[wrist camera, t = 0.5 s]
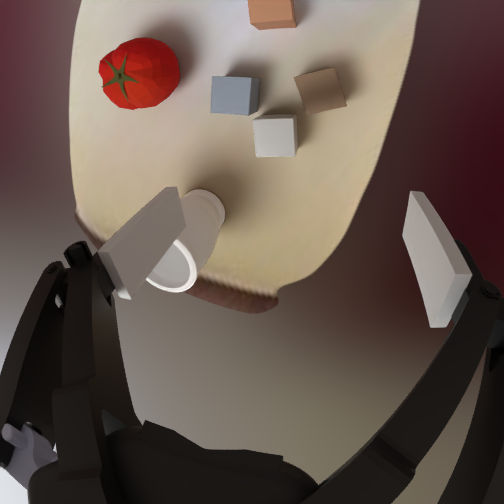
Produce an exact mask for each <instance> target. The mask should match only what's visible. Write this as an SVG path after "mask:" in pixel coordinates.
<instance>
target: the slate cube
mask: <svg viewBox="0 0 504 504" xmlns="http://www.w3.org/2000/svg"><path fill="white" fill-rule="evenodd" d="M259 84H260V78H249V77H228V76H212V91H211V113H223V114H236V115H247V116H249V115H251V114H253V113H255V112H257V106H258V95H259Z"/></svg>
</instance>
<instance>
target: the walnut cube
mask: <svg viewBox="0 0 504 504" xmlns="http://www.w3.org/2000/svg"><path fill="white" fill-rule="evenodd" d="M294 79H295V82H296V85H297V87H298V90H299V93H300V96H301V99H302V101H303V104H304V107H305V110H306V113H307V115H309V114H314V113H318V112H322V111H326V110H331V109H336V108H340V107H345V106H347V104H346V101H345V98H344V95H343V91H342V88H341V85H340V82H339V79H338V77H337V74H336V71H335V68H330V69H325V70H321V71H316V72H312V73H308V74H304V75H300V76H297V77H294Z"/></svg>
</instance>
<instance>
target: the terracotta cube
mask: <svg viewBox="0 0 504 504" xmlns="http://www.w3.org/2000/svg"><path fill="white" fill-rule="evenodd" d="M248 7H249V15H250V23H251V24H252V25H253V26H255V27H256V28H257V29H258V30H265V29H277V28H296V20H295V12H294V5H293V0H248Z"/></svg>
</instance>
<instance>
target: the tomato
mask: <svg viewBox="0 0 504 504" xmlns="http://www.w3.org/2000/svg"><path fill="white" fill-rule="evenodd" d="M99 74H100V75H101V77H102V79H103V86H102V87H103V91H104V93H105V94H106V95H107V96H108V98H109V99H110V100H111V101H112V102H113V103H114V104H116V105H117V106H118V107H120V108H126V109H131V110H134V109H137V108H147V107H154V106H157V105H158V104H159V103H161V102H162V101H164V100H165V99H167V98H168V97H169V96H170V95H171V93H172V92H173V91H174V90H175V88H176V87H177V86H178V83H179V79H180V71H179V65H178V60H177V57H176V56H175V54H174V52H173V50H171V49H170V48H169V47H168V46H167V45H166V44H165V43H163V42H161V41H159V40H155V39H152V38H135V39H133V40H130V41H127V42H125V43H122V44H120V46H119V47H118V48H117V49H116V50H113V51H111V52H110V53H109V54H107V55H106V56H105V57H104V58H103V59H102V60H101V61H100V64H99Z"/></svg>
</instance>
